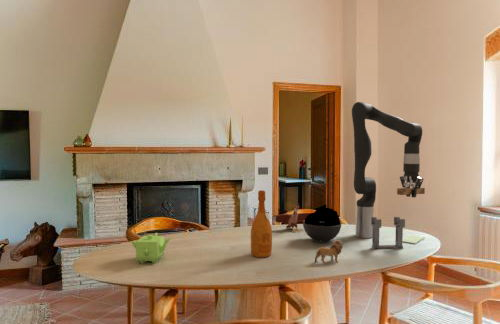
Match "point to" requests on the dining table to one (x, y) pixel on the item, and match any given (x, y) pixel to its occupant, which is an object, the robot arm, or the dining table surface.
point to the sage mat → (412, 239)
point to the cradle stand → (399, 233)
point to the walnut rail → (409, 191)
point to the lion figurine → (329, 251)
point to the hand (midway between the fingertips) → (410, 196)
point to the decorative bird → (291, 218)
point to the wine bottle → (261, 230)
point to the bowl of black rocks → (322, 224)
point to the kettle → (150, 248)
